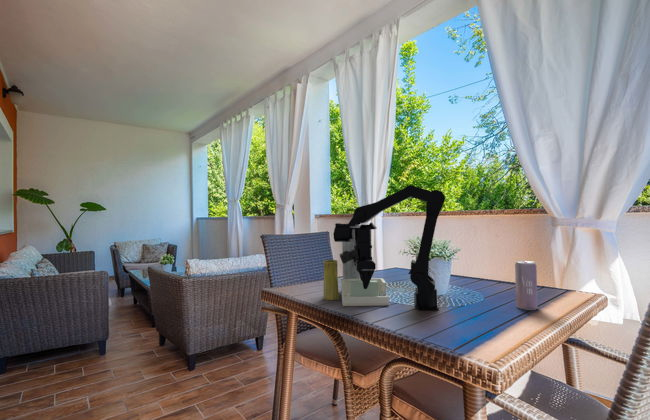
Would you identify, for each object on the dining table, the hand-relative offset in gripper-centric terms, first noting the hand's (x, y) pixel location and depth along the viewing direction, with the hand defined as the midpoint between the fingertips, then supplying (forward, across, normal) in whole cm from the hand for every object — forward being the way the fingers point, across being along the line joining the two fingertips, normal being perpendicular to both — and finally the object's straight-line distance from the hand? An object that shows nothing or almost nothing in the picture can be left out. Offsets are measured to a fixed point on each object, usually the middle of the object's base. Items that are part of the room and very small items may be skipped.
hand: (364, 286), depth 115 cm
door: (+5, 0, 0) cm, 5 cm away
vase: (+6, -8, -12) cm, 16 cm away
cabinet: (+6, -4, 0) cm, 7 cm away
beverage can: (+6, +8, +52) cm, 53 cm away
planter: (+6, -19, -2) cm, 20 cm away
